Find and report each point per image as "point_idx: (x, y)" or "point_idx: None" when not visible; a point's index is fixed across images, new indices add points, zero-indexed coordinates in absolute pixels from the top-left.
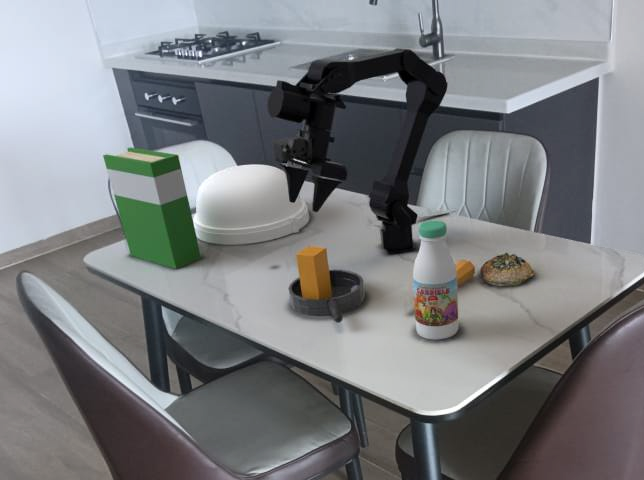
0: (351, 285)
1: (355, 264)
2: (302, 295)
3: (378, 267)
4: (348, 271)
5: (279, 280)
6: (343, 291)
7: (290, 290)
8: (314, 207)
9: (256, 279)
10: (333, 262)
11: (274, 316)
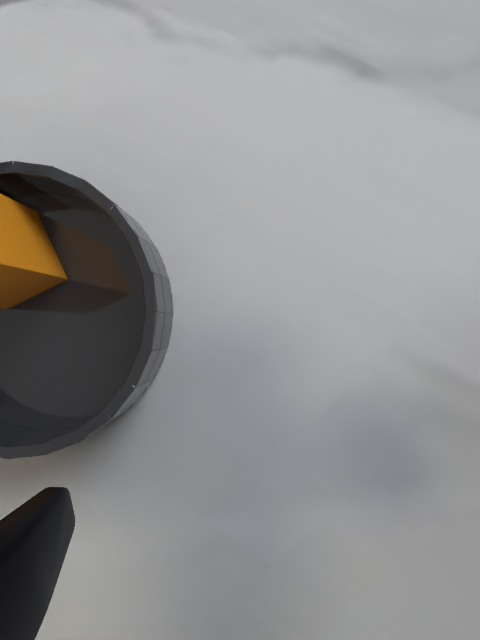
0: (64, 429)
1: (258, 572)
2: (4, 196)
3: (168, 614)
4: (52, 447)
5: (342, 281)
6: (60, 387)
7: (60, 176)
8: (12, 515)
9: (418, 221)
10: (341, 525)
11: (83, 122)
